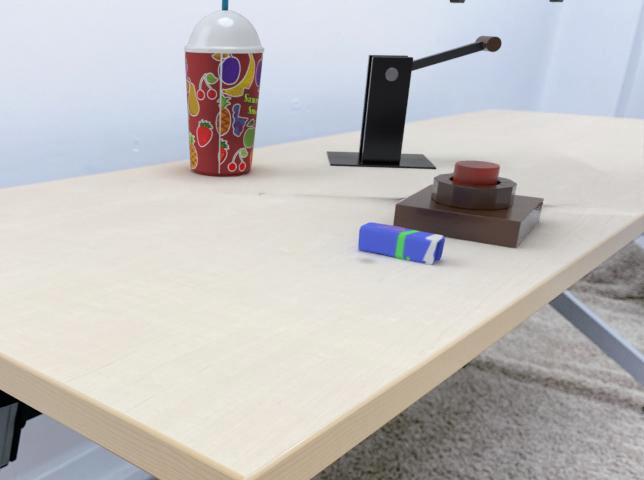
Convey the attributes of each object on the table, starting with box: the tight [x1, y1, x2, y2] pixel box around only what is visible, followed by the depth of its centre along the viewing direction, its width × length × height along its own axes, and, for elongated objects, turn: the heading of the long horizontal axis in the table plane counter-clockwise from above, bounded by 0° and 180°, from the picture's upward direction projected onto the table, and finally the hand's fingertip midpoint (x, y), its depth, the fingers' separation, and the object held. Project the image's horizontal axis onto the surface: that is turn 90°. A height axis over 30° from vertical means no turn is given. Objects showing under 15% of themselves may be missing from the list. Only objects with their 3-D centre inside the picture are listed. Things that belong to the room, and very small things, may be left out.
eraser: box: [357, 221, 446, 266], centre depth 53 cm, size 2×6×2 cm, turn 52°
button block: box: [392, 172, 544, 249], centre depth 61 cm, size 10×10×4 cm
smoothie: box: [183, 0, 265, 177], centre depth 75 cm, size 8×8×20 cm
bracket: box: [326, 54, 437, 170], centre depth 84 cm, size 12×9×13 cm
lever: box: [412, 35, 503, 72], centre depth 81 cm, size 13×6×2 cm, turn 83°
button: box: [453, 160, 501, 186], centre depth 60 cm, size 4×4×2 cm
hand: (504, 1), depth 55 cm, fingers open, 6 cm apart
